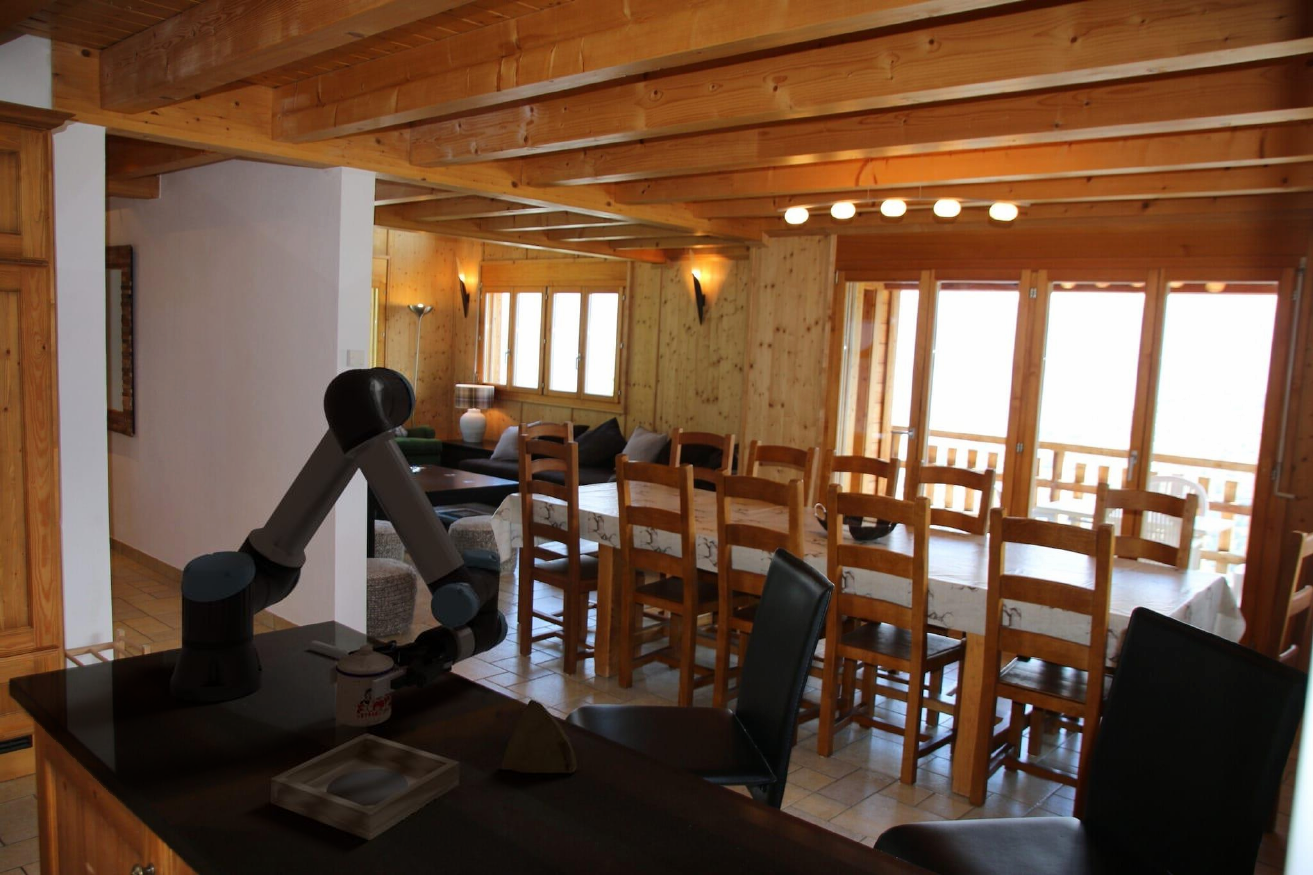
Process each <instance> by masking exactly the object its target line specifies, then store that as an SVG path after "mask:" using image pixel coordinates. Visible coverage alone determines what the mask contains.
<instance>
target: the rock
mask: <svg viewBox="0 0 1313 875" xmlns="http://www.w3.org/2000/svg"><path fill="white" fill-rule="evenodd" d="M513 730H514V731H513V734H511V737H510V739H509V741H508V743H507V747H506V750H505V753H504V756H503V758H502V763H501V765H500V770H502V771H504V770H509V771H515V772H518V773H522V774H524V773H525V774H527V773H528V774H555V773H559V774H561V773H562V774H573V773H574V772H576V770H577V769H578V765H577V764H578V762H577V756H576V752H575V751H574V749H573V745H572V743H571V742H572V741H571V739H570V738H569V736H568V735H567V734H566V732H565V729H564V728H563V727H562V726H561V724H560V722H559V721H558V719H556V718H555V717H554V716H553V715H552V713H550V712H549V711H548V709H547V708H546V707H545V706H544V705H543V704H542V703H541V702H538V701H536V700H534V699H530V700H529V701H528V703H527V706H526V707H525V708H524V710H523V712H522V714H521V716H520V717H519V719H518V721H517V724H516V726H515V728H514V729H513Z"/></svg>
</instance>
